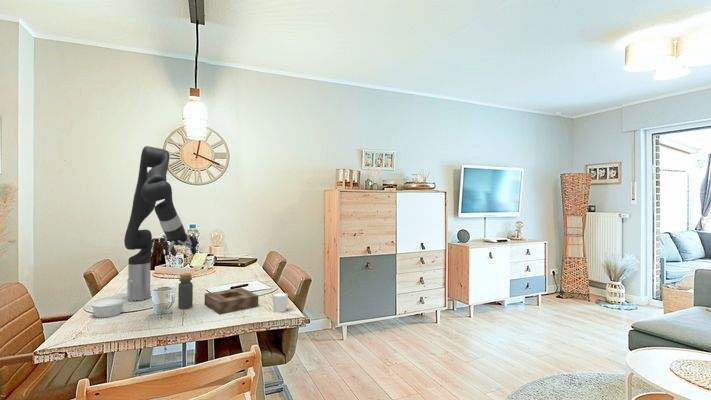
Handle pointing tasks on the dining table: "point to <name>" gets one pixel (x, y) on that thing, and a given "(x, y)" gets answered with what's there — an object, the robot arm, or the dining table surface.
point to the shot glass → (280, 302)
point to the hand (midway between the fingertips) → (184, 254)
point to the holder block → (231, 300)
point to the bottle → (185, 291)
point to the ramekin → (107, 307)
